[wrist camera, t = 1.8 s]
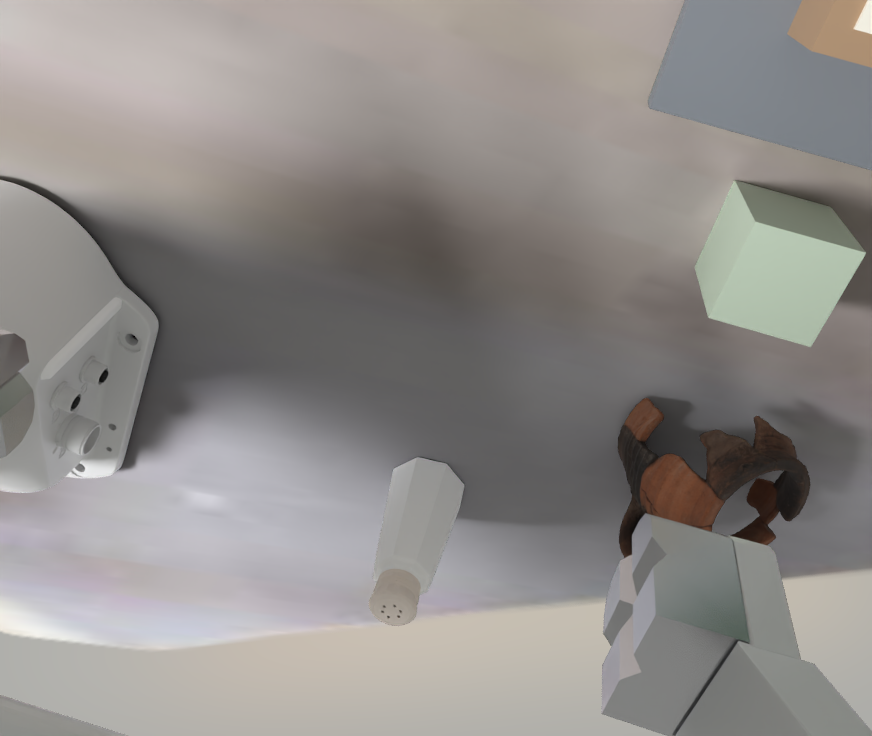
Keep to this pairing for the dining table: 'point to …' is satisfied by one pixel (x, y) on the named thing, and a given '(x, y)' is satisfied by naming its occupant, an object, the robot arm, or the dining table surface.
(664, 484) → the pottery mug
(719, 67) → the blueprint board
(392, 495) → the pepper shaker
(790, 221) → the sage block
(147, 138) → the dining table surface
